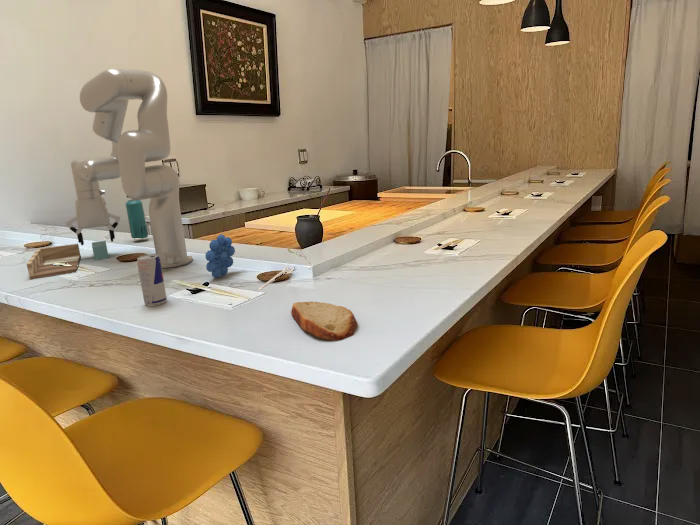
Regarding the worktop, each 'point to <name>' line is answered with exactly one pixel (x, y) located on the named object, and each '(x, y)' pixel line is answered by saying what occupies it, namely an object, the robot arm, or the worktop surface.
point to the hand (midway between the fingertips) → (97, 242)
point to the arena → (53, 261)
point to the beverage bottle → (136, 219)
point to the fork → (277, 276)
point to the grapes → (220, 256)
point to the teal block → (100, 250)
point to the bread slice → (324, 320)
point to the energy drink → (151, 279)
